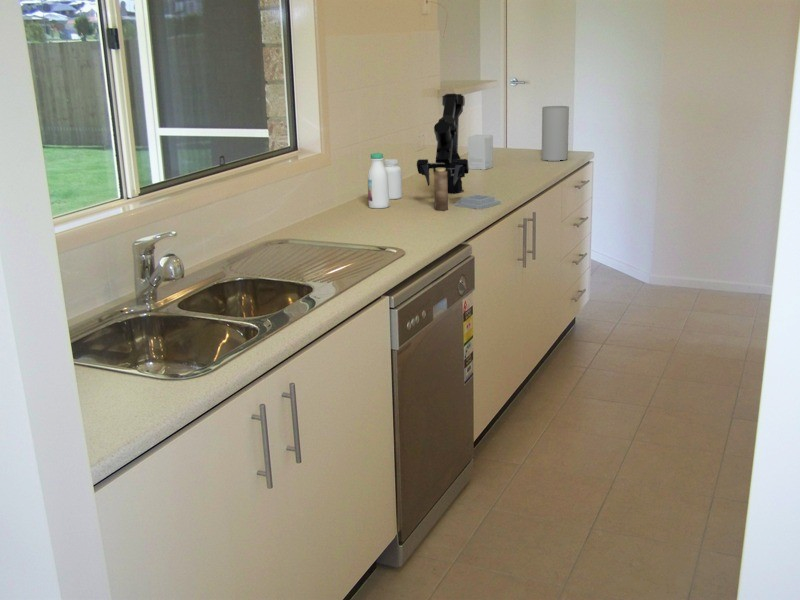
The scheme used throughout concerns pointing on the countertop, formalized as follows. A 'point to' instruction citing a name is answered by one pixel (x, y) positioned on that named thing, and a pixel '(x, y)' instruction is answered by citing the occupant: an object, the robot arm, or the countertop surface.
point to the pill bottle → (394, 178)
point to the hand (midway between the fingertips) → (440, 185)
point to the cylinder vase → (555, 133)
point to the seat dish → (477, 201)
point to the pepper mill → (441, 189)
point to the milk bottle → (378, 183)
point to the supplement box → (480, 151)
